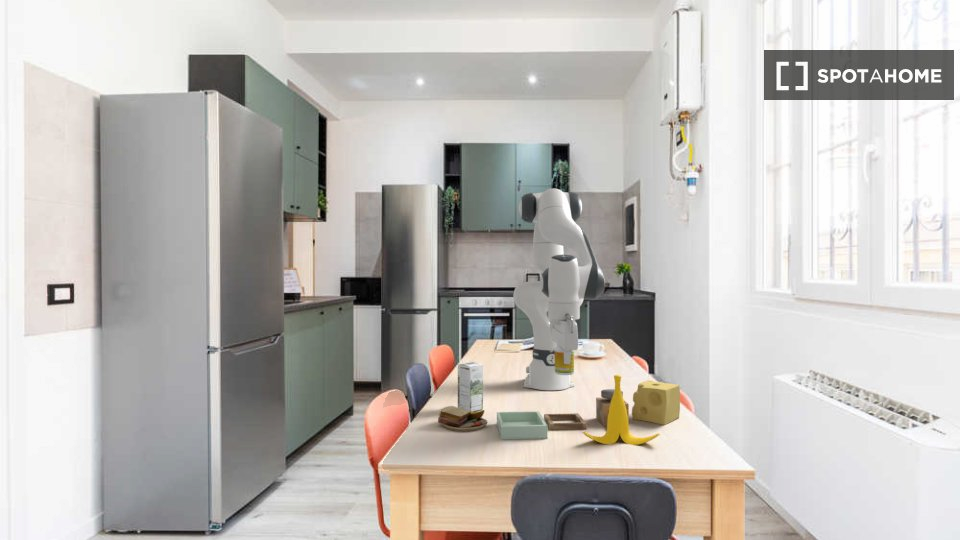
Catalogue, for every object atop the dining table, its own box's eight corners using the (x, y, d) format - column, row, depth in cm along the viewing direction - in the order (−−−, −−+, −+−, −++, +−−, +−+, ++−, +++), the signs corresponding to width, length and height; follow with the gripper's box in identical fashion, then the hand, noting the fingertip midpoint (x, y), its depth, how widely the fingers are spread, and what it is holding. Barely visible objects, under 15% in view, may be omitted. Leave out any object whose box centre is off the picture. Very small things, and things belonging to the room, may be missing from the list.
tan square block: (596, 418, 159) (596, 388, 159) (619, 417, 159) (619, 388, 159) (603, 426, 151) (603, 395, 151) (628, 425, 151) (628, 394, 151)
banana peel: (581, 445, 135) (580, 378, 135) (610, 426, 151) (609, 366, 151) (647, 459, 126) (646, 387, 126) (670, 437, 141) (670, 373, 141)
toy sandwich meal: (472, 435, 144) (471, 418, 144) (430, 428, 151) (430, 411, 151) (495, 423, 154) (495, 407, 154) (455, 417, 161) (455, 401, 161)
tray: (496, 423, 154) (496, 412, 154) (538, 422, 154) (538, 411, 154) (501, 439, 140) (501, 426, 140) (547, 438, 140) (547, 425, 140)
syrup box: (470, 406, 172) (470, 361, 172) (483, 410, 168) (483, 363, 168) (457, 410, 168) (456, 363, 168) (470, 413, 164) (470, 366, 164)
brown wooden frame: (544, 419, 157) (544, 414, 157) (578, 418, 158) (578, 413, 158) (550, 430, 147) (550, 424, 147) (586, 429, 148) (586, 423, 148)
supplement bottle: (573, 375, 149) (573, 340, 149) (554, 375, 151) (553, 340, 150) (574, 372, 155) (574, 338, 155) (555, 371, 156) (555, 337, 156)
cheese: (631, 419, 158) (631, 384, 158) (648, 411, 166) (648, 379, 165) (666, 426, 151) (666, 390, 150) (681, 418, 158) (681, 383, 158)
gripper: (584, 316, 142) (584, 368, 142) (567, 309, 163) (567, 355, 163) (560, 316, 142) (560, 368, 142) (546, 309, 162) (546, 355, 162)
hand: (564, 361), depth 153 cm, fingers closed on supplement bottle, 5 cm apart
